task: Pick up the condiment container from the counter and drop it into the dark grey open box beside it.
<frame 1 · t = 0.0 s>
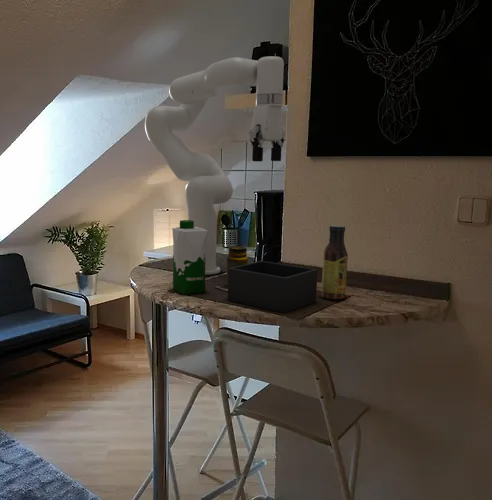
hand: (266, 161, 171), 37 cm above the counter, tool pointing down, fingers open, 9 cm apart
milk carton: (189, 291, 167), on the counter
sauce bottle: (333, 298, 159), on the counter
condiment: (233, 288, 170), on the counter
dark grey open box: (271, 301, 156), on the counter
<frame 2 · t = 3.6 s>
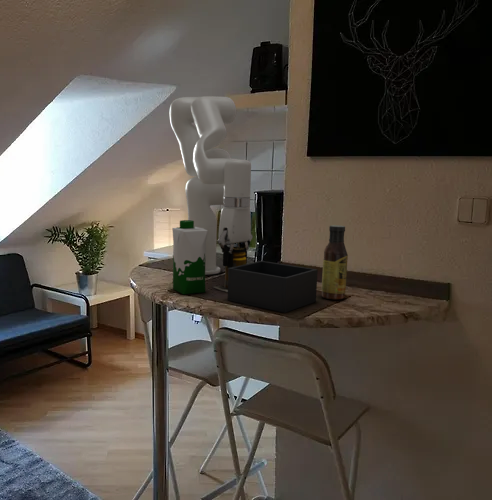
hand: (234, 264, 169), 7 cm above the counter, tool pointing down, fingers closed on condiment, 6 cm apart
condiment: (232, 289, 170), on the counter, touching gripper
everything else where it was.
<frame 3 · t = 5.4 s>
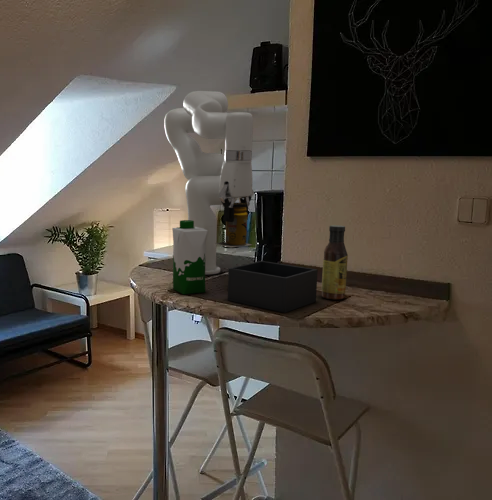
hand: (235, 219, 167), 20 cm above the counter, tool pointing down, fingers closed on condiment, 6 cm apart
condiment: (233, 245, 168), point 13 cm above the counter, touching gripper
everything else where it was.
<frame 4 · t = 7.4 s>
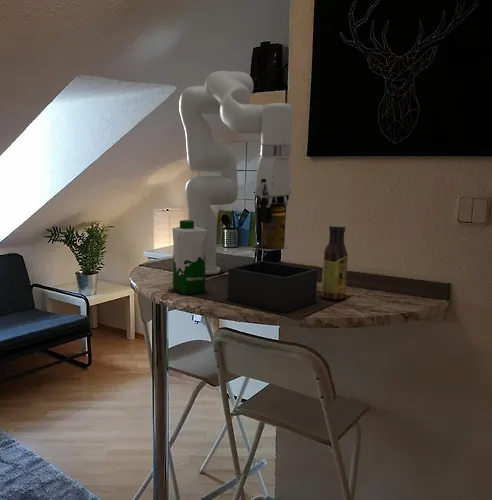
hand: (272, 221, 153), 21 cm above the counter, tool pointing down, fingers closed on condiment, 6 cm apart
condiment: (269, 248, 153), point 14 cm above the counter, touching gripper
everything else where it was.
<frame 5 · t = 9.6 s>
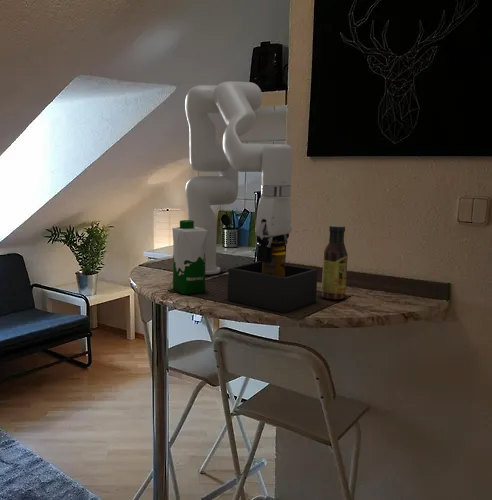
hand: (272, 259, 154), 11 cm above the counter, tool pointing down, fingers closed on condiment, 6 cm apart
condiment: (270, 287, 155), point 4 cm above the counter, touching gripper
everything else where it was.
when the fingers open (8 cm above the counter, at t = 11.2 s): condiment stays where it is, resting on dark grey open box.
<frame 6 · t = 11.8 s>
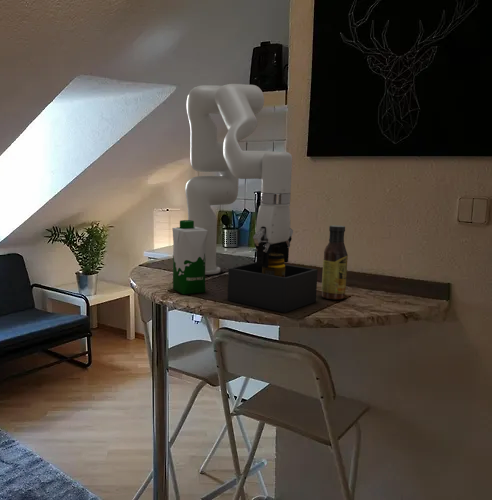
hand: (272, 264, 154), 10 cm above the counter, tool pointing down, fingers open, 9 cm apart
condiment: (269, 299, 155), point 1 cm above the counter, touching dark grey open box
everything else where it was.
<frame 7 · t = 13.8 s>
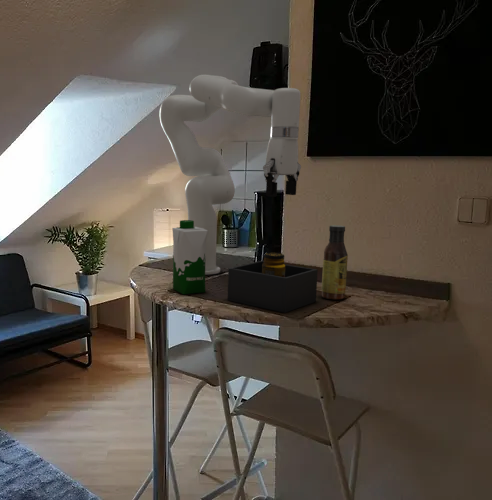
hand: (281, 195, 165), 27 cm above the counter, tool pointing down, fingers open, 9 cm apart
nothing on the counter moved.
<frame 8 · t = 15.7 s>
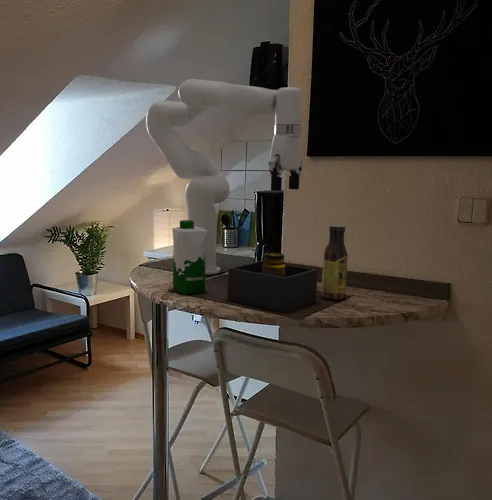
hand: (285, 190, 173), 28 cm above the counter, tool pointing down, fingers open, 9 cm apart
nothing on the counter moved.
at the end: condiment inside the target area in the dark grey open box (0.8 cm from its centre), point 0.6 cm above the dark grey open box's base; the gripper is holding nothing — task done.
